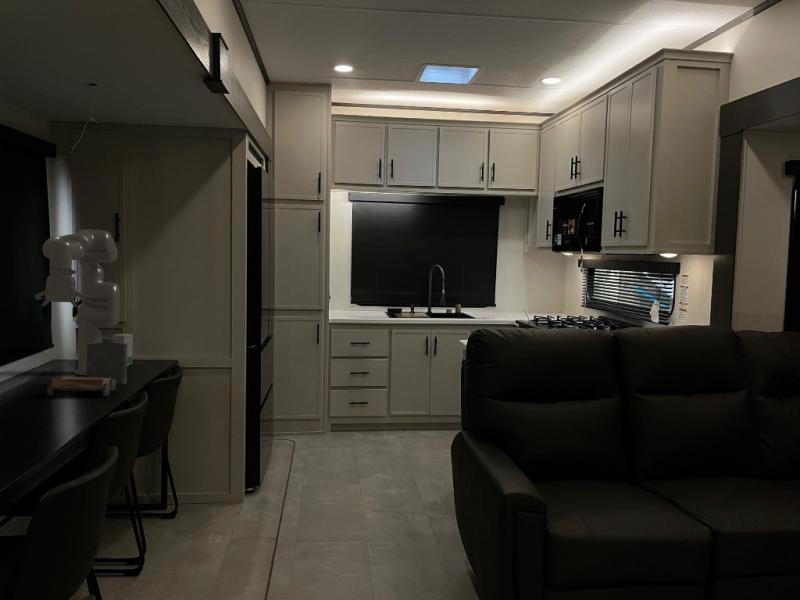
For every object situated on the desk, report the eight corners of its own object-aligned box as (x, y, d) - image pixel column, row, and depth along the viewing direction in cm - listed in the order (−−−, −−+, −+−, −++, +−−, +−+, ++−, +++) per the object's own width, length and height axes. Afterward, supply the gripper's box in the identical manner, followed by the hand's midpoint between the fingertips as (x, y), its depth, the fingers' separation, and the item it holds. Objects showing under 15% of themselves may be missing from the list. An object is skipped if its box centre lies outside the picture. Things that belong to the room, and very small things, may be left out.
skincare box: (123, 367, 294) (123, 335, 293) (110, 366, 295) (111, 334, 294) (133, 364, 302) (133, 333, 301) (120, 363, 303) (121, 332, 302)
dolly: (60, 389, 243) (60, 372, 242) (115, 389, 247) (116, 372, 246) (47, 397, 229) (47, 379, 228) (106, 397, 233) (106, 379, 233)
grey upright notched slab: (85, 384, 253) (86, 337, 252) (88, 382, 257) (88, 336, 256) (125, 384, 257) (126, 338, 256) (127, 382, 261) (128, 337, 260)
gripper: (87, 273, 237) (86, 316, 238) (38, 271, 232) (37, 315, 233) (83, 274, 230) (83, 318, 231) (32, 272, 225) (32, 317, 226)
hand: (60, 316), depth 232 cm, fingers open, 9 cm apart
